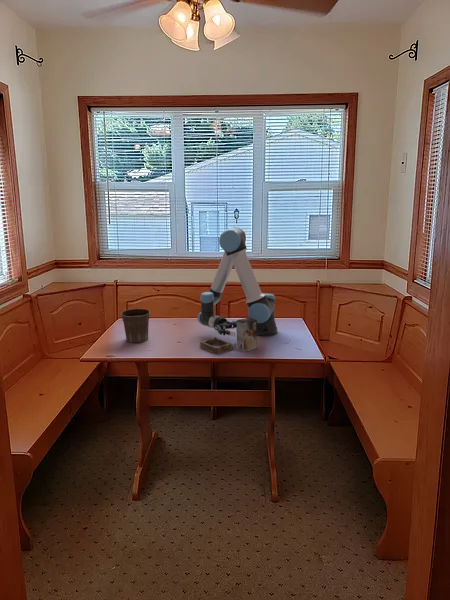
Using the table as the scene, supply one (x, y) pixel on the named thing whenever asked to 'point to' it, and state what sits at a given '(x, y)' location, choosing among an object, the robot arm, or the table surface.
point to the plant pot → (136, 324)
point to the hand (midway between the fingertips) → (244, 331)
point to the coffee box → (246, 334)
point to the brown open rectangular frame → (222, 344)
